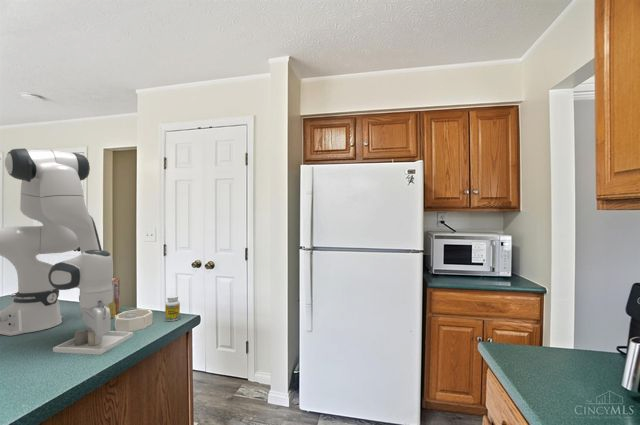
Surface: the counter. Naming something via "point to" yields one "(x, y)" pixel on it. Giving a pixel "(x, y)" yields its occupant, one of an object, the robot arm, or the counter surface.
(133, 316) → the grey rounded lump
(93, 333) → the pebble
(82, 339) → the pebble
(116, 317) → the bowl
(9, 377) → the counter surface
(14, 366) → the counter surface
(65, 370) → the counter surface
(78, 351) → the tray
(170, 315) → the supplement bottle
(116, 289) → the candy box
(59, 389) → the counter surface
